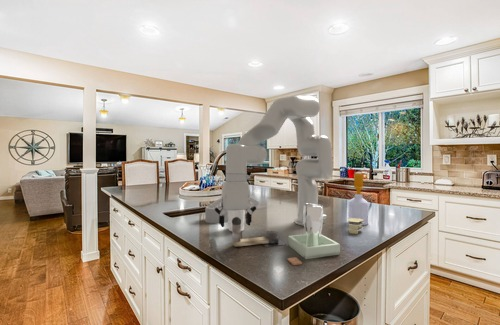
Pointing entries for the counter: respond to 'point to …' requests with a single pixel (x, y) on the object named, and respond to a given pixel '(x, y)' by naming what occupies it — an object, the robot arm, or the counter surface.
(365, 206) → the soap bottle
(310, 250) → the tray
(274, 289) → the counter surface
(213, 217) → the grey bumpy block
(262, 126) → the robot arm
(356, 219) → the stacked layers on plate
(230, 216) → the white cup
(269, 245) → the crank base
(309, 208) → the beer glass
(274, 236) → the crank lever
